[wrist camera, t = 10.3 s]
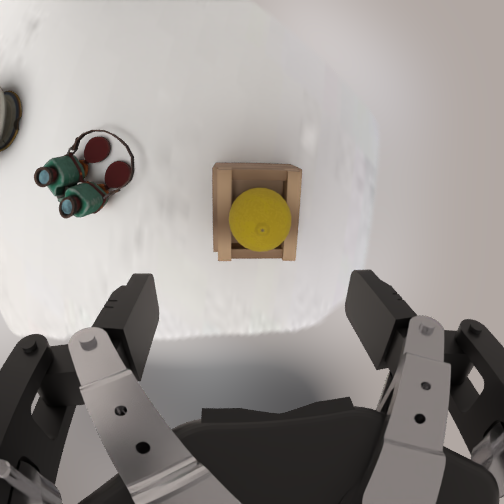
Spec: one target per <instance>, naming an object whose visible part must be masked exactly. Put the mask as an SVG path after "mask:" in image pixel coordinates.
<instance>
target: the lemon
mask: <svg viewBox="0 0 504 504" xmlns="http://www.w3.org/2000/svg"><path fill="white" fill-rule="evenodd" d="M229 225H230V229H231V232H232V234H233V236H234V237H235V239H236V240H237V241H238V242H239V243H240V244H241V245H242V246H244V247H245V248H247V249H250V250H252V251H258V252H263V251H269V250H272V249H274V248H276V247H277V246H279V245H280V244H281V243H282V242H283V241H284V240H285V239H286V237H287V235H288V234H289V231H290V227H291V212H290V208H289V206H288V205H287V203H286V201H285V200H284V199H283V198H282V196H281V195H280V194H278V193H276V192H275V191H273V190H270V189H267V188H253V189H249V190H247V191H245V192H243V193H242V194H241V195H239V196H238V197H237V198H236V200H235V201H234V203H233V204H232V207H231V209H230V213H229Z"/></svg>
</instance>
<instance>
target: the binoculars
mask: <svg viewBox="0 0 504 504" xmlns="http://www.w3.org/2000/svg"><path fill="white" fill-rule="evenodd" d="M94 131H101V132H106V133H109V134H111V135H113V136H114V137H115V138H117V139H118V140H119V141H120V142H121V143H122V144H123V145H124V146H125V147H126V149H127V151H128V153H129V155H130V156H131V168H130V166H129V165H128V164H127V163H124V162H121V161H116V162H113V163H112V164H110V166H109V167H108V168H107V170H106V173H105V183H106V185H105V184H96V183H94V182H89V181H87V182H86V181H84V178H85V177H86V175H87V173H88V163H97V162H100V161H102V160H104V159H105V158H106V157H107V156H108V155H109V153H110V143H109V141H108V140H107V139H106V138H104V137H94V138H92V139H90V140H89V141H88V143H87V144H86V147H85V150H84V157H85V160H78V159H77V157H76V156H74V155H73V154H74V153H75V152H76V151H77V150H78V146H79V143H80V140H81V139H82V138H83V137H84V136H85V135H87V134H89V133H92V132H94ZM70 150H75V151H74V152H73V153H72V152H70ZM133 174H134V156H133V154H132V152H131V150H130V148H129V146H128V145H127V144H126V143H125V142H124V141H123V140H122V139H120V138H119V137H118V136H116V135H115V134H112V133H110V132H108V131H105V130H90V131H88V132H85V133H83V134H81V135H80V136H79V137H77V138H76V139H75V143H74V145H73V146H72V147H70V148H69V150H68V152H67V154H66V155H64V156H61V157H56V158H52V159H50V160H49V161H48V162H47V163H46V164H45V165H44V167H40V168H38V169H37V170H36V172H35V174H34V180H35V182H36V184H37V185H38V186H40V187H46V186H48V188H49V189H50V191H51V192H52V193H53V194H54V196H57V198H58V201H59V202H60V205H59V212H60V215H61V216H62V217H63V218H69V217H71V216H73V215H74V216H75V217H84V216H86V215H89V214H91V213H97V212H98V211H100V209H102V208H103V207H104V205H105V204H106V203H107V201H108V197H109V196H111V195H113V194H114V193H116V192H118V191H120V190H119V189H121V188H123V187H124V186H126V185H127V184H128V183H129V182H130V181H131V180H132V177H133ZM79 182H82V184H78V185H77V183H79ZM110 188H118V189H117V190H113V191H110V192H109V191H108V190H109V189H110Z"/></svg>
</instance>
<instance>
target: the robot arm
mask: <svg viewBox="0 0 504 504" xmlns="http://www.w3.org/2000/svg"><path fill="white" fill-rule="evenodd" d="M345 312H346V316H347V318H348V320H349V321H350V323H351V325H352V327H353V328H354V330H355V332H356V334H357V335H358V337H359V339H360V341H361V342H362V344H363V346H364V348H365V350H366V351H367V353H368V355H369V357H370V359H371V360H372V362H373V364H374V366H375V368H376V370H380V369H385V368H389V370H390V371H389V373H388V375H387V378H386V382H385V384H384V387H383V391H382V394H381V397H380V400H379V403H378V405H377V408H376V410H373V409H369V408H364V407H356V406H353V404H352V401H351V399H350V397H345V398H339V399H333V400H327V401H319V402H315V403H312V404H309V405H306V406H303V407H300V408H297V409H294V410H291V411H288V412H285V413H280V414H277V413H268V412H261V411H254V410H248V409H242V408H230V409H229V408H224V409H213V408H212V409H211V408H210V409H209V408H206V409H205V408H202V417H201V419H198V420H193V421H190V422H186V423H184V424H182V425H179V426H177V427H175V428H173V429H171V428H170V427H169V426H168V425H167V423H166V422H165V420H164V419H163V418H162V416H161V415H160V414H159V412H158V411H157V409H156V408H155V407H154V405H153V404H152V402H151V401H150V399H149V398H148V396H147V395H146V393H145V392H144V390H143V389H142V387H141V386H140V384H139V383H138V381H141V378H142V374H143V371H144V367H145V364H146V360H147V357H148V354H149V350H150V347H151V344H152V341H153V337H154V334H155V331H156V328H157V325H158V321H159V306H158V300H157V295H156V289H155V282H154V277H153V275H152V274H133V275H132V277H131V278H130V280H129V282H128V283H127V285H126V286H120V287H119V288H118V289H116V290H115V291H114V292H113V293H112V294H111V296H110V297H109V299H108V301H107V302H106V304H105V305H104V308H103V309H102V310H101V312H100V314H99V315H98V317H97V319H96V320H95V322H94V324H93V325H92V327H89V328H85V329H82V330H80V331H78V332H76V333H75V334H74V335H73V336H72V337H71V338H70V340H69V343H68V344H66V345H58V346H50V345H49V343H48V341H47V339H46V338H45V337H44V336H43V335H40V334H32V335H29V336H26V337H24V338H23V339H21V340H20V341H19V342H18V343H17V344H16V346H15V347H14V349H13V351H12V352H11V354H10V355H9V357H8V358H7V360H6V362H5V363H4V365H3V367H2V368H1V370H0V504H63V503H62V498H61V494H60V492H59V490H58V489H57V487H56V486H55V481H56V477H57V472H58V468H59V464H60V459H61V456H62V452H63V448H64V444H65V441H66V437H67V433H68V430H69V427H70V424H71V420H72V417H73V414H74V411H75V408H76V405H83V404H85V405H86V407H87V410H88V412H89V414H90V417H91V419H92V421H93V423H94V426H95V428H96V430H97V432H98V435H99V437H100V439H101V441H102V443H103V445H104V447H105V449H106V451H107V453H108V455H109V457H110V458H111V460H112V462H113V464H114V466H115V468H116V469H117V471H118V474H116V475H115V476H114V477H113V478H111V479H110V480H109V481H107V482H106V483H105V484H103V485H102V486H101V487H100V488H98V489H97V490H96V491H94V492H93V493H92V494H90V495H89V496H88V497H86V498H85V499H83V500H82V501H81V502H80V503H78V504H499V498H501V497H503V496H504V348H503V346H502V345H501V344H500V343H499V342H498V340H497V339H496V338H495V337H494V336H493V335H492V334H491V332H490V331H489V330H488V329H487V328H486V327H485V326H484V325H482V324H481V323H480V322H478V321H475V320H471V319H466V320H463V321H462V322H461V324H460V326H459V328H458V330H457V331H449V330H444V328H443V326H442V325H441V324H440V323H439V322H438V321H437V320H435V319H433V318H431V317H428V316H417V314H416V313H415V312H414V311H413V310H412V309H411V308H410V307H409V305H408V304H407V303H406V302H405V301H404V300H402V297H401V296H400V295H399V294H397V292H396V291H395V290H394V289H393V288H392V286H390V285H388V284H387V283H385V282H383V281H382V280H380V279H379V278H378V277H377V276H376V275H375V274H374V272H373V271H372V270H354V271H353V272H352V274H351V277H350V282H349V288H348V293H347V297H346V302H345ZM473 366H475V367H476V369H477V370H478V372H479V373H480V374H481V376H482V377H483V379H484V389H483V391H482V393H481V394H480V395H479V394H478V392H477V391H476V389H475V388H474V386H473V385H472V383H471V381H470V380H469V379H468V377H467V376H468V374H469V373H470V371H471V370H472V368H473ZM37 392H38V394H39V395H40V397H39V399H38V402H37V404H36V406H35V409H34V411H33V414H32V415H31V404H32V402H33V400H34V397H35V395H36V393H37ZM448 410H449V412H450V414H451V416H452V417H453V420H454V421H455V423H456V425H457V427H458V429H459V431H460V433H461V435H462V437H463V439H464V441H465V443H466V445H467V447H468V450H469V451H470V454H471V460H470V459H468V458H466V457H464V456H462V455H460V454H458V453H456V452H454V451H452V450H450V449H448V448H446V447H444V446H443V443H444V437H445V430H446V423H447V415H448Z"/></svg>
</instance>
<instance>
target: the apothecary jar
mask: <svg viewBox="0 0 504 504" xmlns="http://www.w3.org/2000/svg"><path fill="white" fill-rule="evenodd" d="M21 116H22V107H21V102H20V99H19V97H18V95H17V94H16V93H15V92H13V91H6V92H3V90H2V89H1V87H0V152H1V151H3V150H5V149H7V148H8V147H9V146H10V145H11V143H12V142H13V141H14V139H15V137H16V135H17V133H18V130H19V120H20V118H21Z"/></svg>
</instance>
